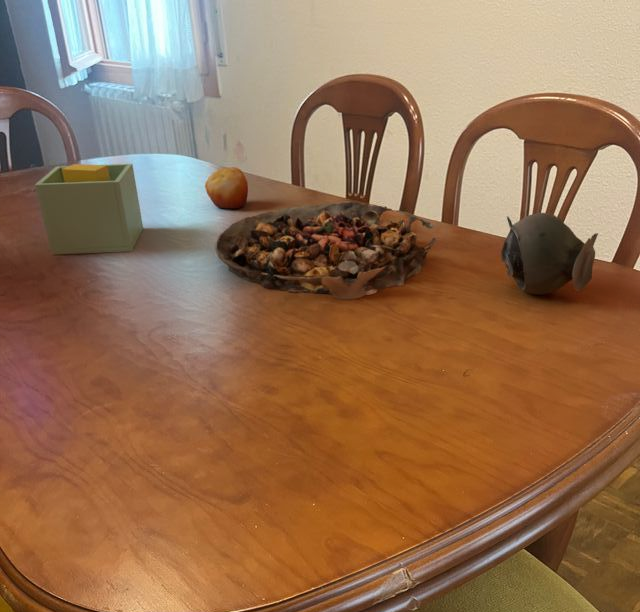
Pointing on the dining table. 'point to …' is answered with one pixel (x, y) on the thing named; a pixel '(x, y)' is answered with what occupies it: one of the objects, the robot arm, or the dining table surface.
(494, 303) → the dining table surface
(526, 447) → the dining table surface
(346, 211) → the food dish
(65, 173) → the packet
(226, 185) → the fruit
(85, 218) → the bin
